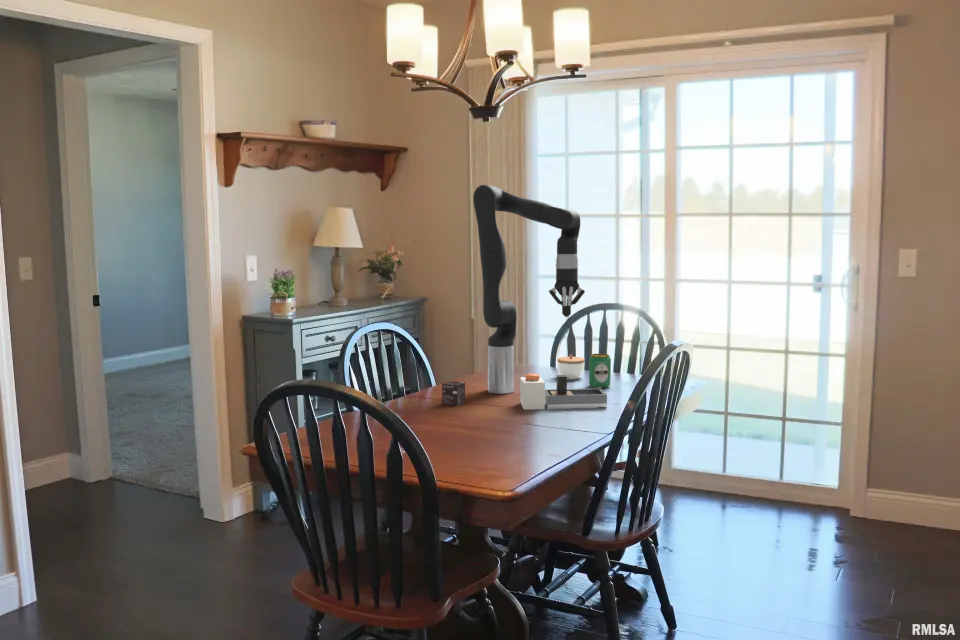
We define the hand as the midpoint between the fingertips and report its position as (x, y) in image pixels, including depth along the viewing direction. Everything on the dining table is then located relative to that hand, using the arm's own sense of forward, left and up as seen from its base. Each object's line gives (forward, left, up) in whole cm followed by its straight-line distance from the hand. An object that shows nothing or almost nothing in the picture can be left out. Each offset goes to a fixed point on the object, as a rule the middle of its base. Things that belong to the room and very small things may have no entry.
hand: (566, 316), depth 289 cm
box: (-40, -6, -29) cm, 50 cm away
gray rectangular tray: (+1, -12, -29) cm, 31 cm away
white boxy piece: (-14, -12, -29) cm, 34 cm away
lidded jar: (+8, +35, -29) cm, 46 cm away
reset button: (-13, -12, -23) cm, 29 cm away
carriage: (-3, -12, -27) cm, 30 cm away
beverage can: (+16, +18, -29) cm, 38 cm away
